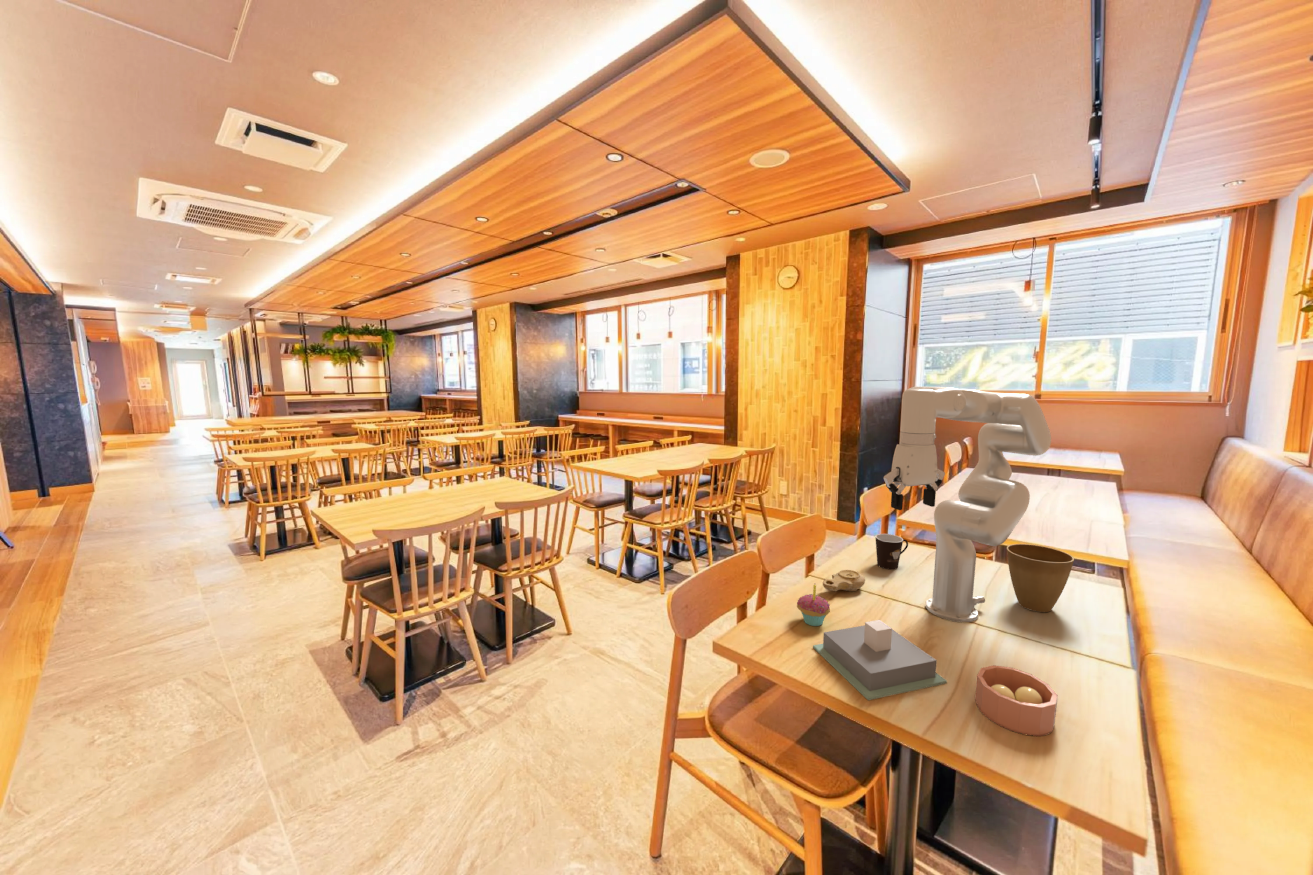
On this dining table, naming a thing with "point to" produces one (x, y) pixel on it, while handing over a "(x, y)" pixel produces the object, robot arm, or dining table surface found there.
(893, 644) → the cover
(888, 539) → the coffee mug
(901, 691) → the mat
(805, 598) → the cupcake
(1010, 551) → the plant pot
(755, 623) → the dining table surface
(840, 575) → the oil lamp
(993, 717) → the bowl
